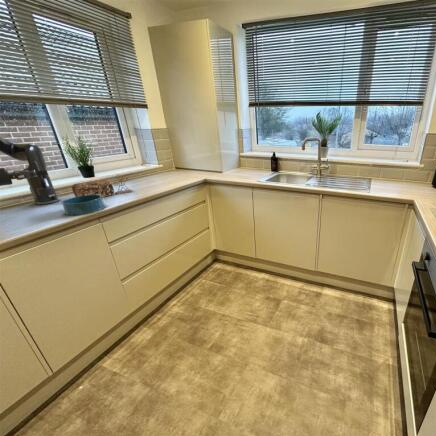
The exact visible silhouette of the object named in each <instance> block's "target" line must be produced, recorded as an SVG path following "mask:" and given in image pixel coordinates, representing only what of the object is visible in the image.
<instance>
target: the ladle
mask: <svg viewBox="0 0 436 436" xmlns="http://www.w3.org/2000/svg"><path fill="white" fill-rule="evenodd" d="M32 164H33V167H34V169H35V172H36V171H40V169H39V167H38V165H37V162H35V161H33V162H32ZM37 176H38V175H37ZM38 179H39V181H40V183H41V186H42V188H38V189H36V190H37V192H38V194H39V195H40V196H44V195H50V194H54V193H55V192H56V190H55V187H54V186H53V187H54V188H53V187H47V186H46V184H45V181H44V179H43V177H42V175H40V176H38Z"/></svg>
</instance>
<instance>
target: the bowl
mask: <svg viewBox="0 0 436 436" xmlns="http://www.w3.org/2000/svg"><path fill="white" fill-rule="evenodd" d="M61 205H62V207H63V210H64V212H65V214H66V215H67V216H81V215H88V214H93V213H96V212H99V211H101V210H103V209H104V208H105V207H106V205H105V202H104V199H103V197H102V196H101V195H85V196H79V197H75V196H74V197H70V198H67V199H64V200H62V201H61Z"/></svg>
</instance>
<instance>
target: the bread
mask: <svg viewBox="0 0 436 436" xmlns="http://www.w3.org/2000/svg"><path fill="white" fill-rule="evenodd" d="M71 190H72V193H73V195H74V197H79V196H85V195H101V196H102V198H106V197H111V196H114V195H115V189H114V186H113V184H112V182H111V181H109V180H105V179H104V180H90V181H85V182H79V183H74V184H73V185H72V186H71Z"/></svg>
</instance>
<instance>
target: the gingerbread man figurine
mask: <svg viewBox="0 0 436 436" xmlns="http://www.w3.org/2000/svg"><path fill="white" fill-rule="evenodd" d="M115 178H116V180H114V182H113V185H114V186H115V187H118V188H117V191H114V194H115V195H123V194H127V193H133V190H132V189H130V188H129V187H124V186H126V184H125V183H126V182H128V179H129V178H128V177H126V176H123V175H122V174H120V175H119V174H116V176H115ZM117 181H118V182H117ZM123 181H124V183H122V182H123ZM116 182H117V183H116ZM121 186H122V187H121ZM120 187H121V189H120ZM123 189H124V190H123Z"/></svg>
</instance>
